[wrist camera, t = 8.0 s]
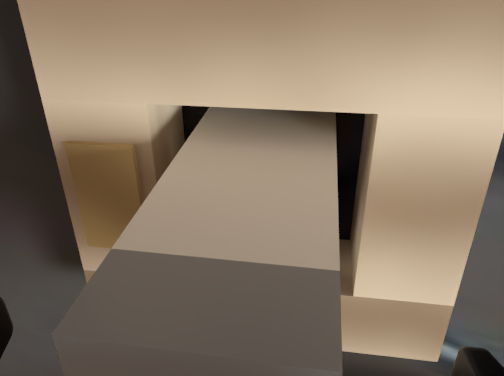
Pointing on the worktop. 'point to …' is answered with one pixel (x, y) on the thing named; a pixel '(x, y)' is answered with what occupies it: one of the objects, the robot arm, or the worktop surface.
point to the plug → (223, 260)
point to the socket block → (291, 98)
